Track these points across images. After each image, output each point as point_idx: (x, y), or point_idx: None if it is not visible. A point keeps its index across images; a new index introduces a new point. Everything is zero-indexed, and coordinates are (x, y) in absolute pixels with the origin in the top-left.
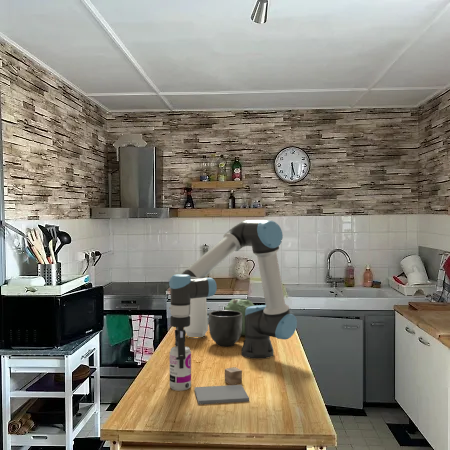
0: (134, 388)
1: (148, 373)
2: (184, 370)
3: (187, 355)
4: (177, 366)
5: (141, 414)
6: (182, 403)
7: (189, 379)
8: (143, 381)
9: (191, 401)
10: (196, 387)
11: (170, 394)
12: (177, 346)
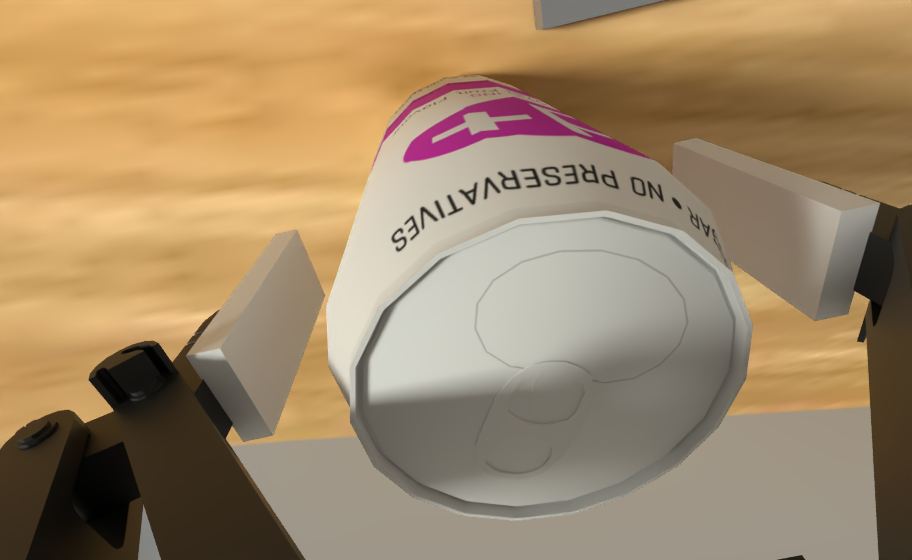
0: None
1: None
2: (743, 159)
3: (689, 191)
4: (746, 264)
5: None
6: (804, 98)
7: (526, 93)
8: None
9: (787, 25)
10: (552, 6)
11: None
12: (386, 466)
